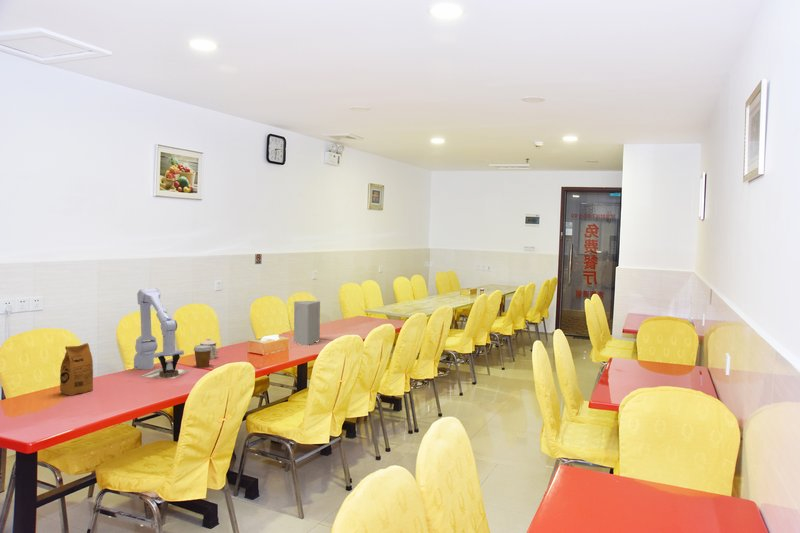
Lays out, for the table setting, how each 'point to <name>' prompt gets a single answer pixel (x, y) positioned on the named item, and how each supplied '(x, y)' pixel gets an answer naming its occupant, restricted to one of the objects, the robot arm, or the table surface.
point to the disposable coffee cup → (202, 355)
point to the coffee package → (76, 370)
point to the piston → (169, 367)
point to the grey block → (306, 322)
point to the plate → (156, 372)
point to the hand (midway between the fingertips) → (168, 369)
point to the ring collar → (168, 374)
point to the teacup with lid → (213, 346)
